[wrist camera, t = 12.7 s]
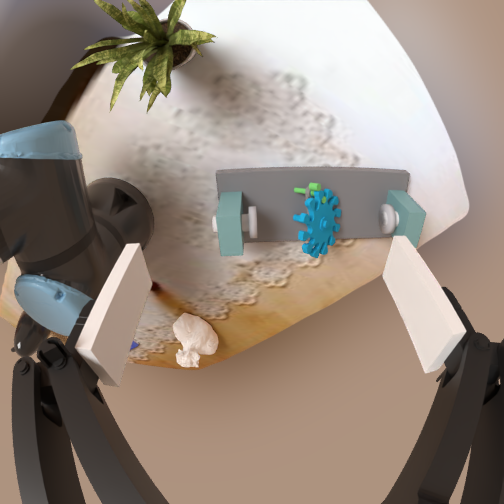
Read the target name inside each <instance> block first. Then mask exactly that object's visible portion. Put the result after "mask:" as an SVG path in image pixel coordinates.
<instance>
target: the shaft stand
mask: <svg viewBox="0 0 504 504" xmlns="http://www.w3.org/2000/svg"><path fill="white" fill-rule="evenodd" d="M409 175H410V173H408V172H407V171H406V170H395V169H378V168H355V167H271V168H247V169H229V170H217V172H216V180H217V189H218V198H219V205H218V209H217V214H216V216H213V218H212V226H213V232H214V233H218V238H219V245H220V253H221V256H239V255H243V247H244V243H246V242H269V241H295V240H299V239H298V233H299V231H300V230H303V231H307V230H308V228H307V226H306V224H304V223H300V222H298V221H294V220H293V216H294V215H295V214H297V215H301V213H305V214H307V207H306V206H305V201H306V196H305V194H302V193H295V192H294V188H303V189H306V188H307V187H308V186H309V184H310V183H319V184H320V185H321V189H320V190H322V191H324V189H330V190H331V191H332V192H333V195H332V196H338V200H339V203H338V205H333V207H332V210H334V209H335V208H337V209H341V216H340V217H334V220H335V222H336V223H337V224H340V229H339V231H338V232H334V231H333V236H334V238H335V239H350V238H381V237H394V236H406V237H407V238H408V240H409V241H410V242H411V244H412V245H413V246H414V248H417V244H418V241H419V238H420V234H421V231H422V227H423V224H424V220H425V216H426V212H425V211H424V210H423V209H422V208H421V207H420V206H419V205H418V204H417V203H416V202H415V201H414V200H413V199H412V198H411V197H410V196H409V195H408V194H407V193H406V191H407V186H408V181H409ZM329 200H330V198H329V199H328V202H329ZM307 240H310V238H308V239H307Z"/></svg>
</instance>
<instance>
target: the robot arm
mask: <svg viewBox="0 0 504 504" xmlns="http://www.w3.org/2000/svg"><path fill="white" fill-rule="evenodd" d="M81 159H82V154H81V153H80V151H79V147H78V142H77V137H76V132H75V129H74V127H73V126H72V125H71V124H70V123H69V122H66V121H54V122H48V123H43V124H38V125H34V126H29V127H25V128H21V129H18V130H14V131H10V132H7V133H4V134H1V135H0V264H3V263H4V262H5V261H7V260H9V259H10V258H12V257H13V256H14V257H15V259H16V262H17V264H18V266H19V268H20V270H21V276H19V277H18V278H17V279H16V284H15V290H14V293H15V297H16V299H17V301H18V303H19V304H20V306H21V307H22V308H23V310H24V311H25V312H26V313H27V314H28V315H29V316H30V317H31V318H33V319H34V320H35V321H36V322H38V323H39V324H41V325H42V326H44V327H46V328H47V329H49V330H51V331H53V332H56V333H58V334H61V335H65V336H69V337H68V339H67V342H66V344H65V346H64V344H63V343H62V341H61V340H60V339H58V338H57V337H51V338H48V339H46V340H45V341H43V342H42V343H41V345H40V346H39V348H38V350H37V358H38V359H39V360H40V361H41V362H38V363H36V362H35V361H34V360H33V359H32V358H31V357H29V356H24V357H22V358H20V359H19V360H18V361H17V362H16V364H15V366H14V370H13V382H12V432H13V447H14V457H15V465H16V472H17V479H18V484H19V490H20V495H21V499H22V504H86V503H85V500H84V496H83V493H82V490H81V486H80V482H79V478H78V474H77V471H76V466H75V462H74V457H73V452H72V448H71V442H72V444H73V447H74V449H75V451H76V454H77V456H78V458H79V460H80V462H81V464H82V467H83V469H84V471H85V473H86V475H87V477H88V479H89V481H90V483H91V484H92V486H93V488H94V490H95V492H96V493H97V495H98V497H99V499H100V500H101V502H102V504H169V503H168V502H167V500H166V499H165V498H164V496H163V495H162V494H161V492H160V491H159V490H158V488H157V487H156V486H155V484H154V483H153V481H152V480H151V479H150V477H149V476H148V474H147V473H146V471H145V470H144V468H143V467H142V465H141V464H140V463H139V461H138V459H137V458H136V456H135V454H134V453H133V451H132V449H131V448H130V446H129V444H128V443H127V441H126V439H125V438H124V436H123V434H122V432H121V430H120V428H119V427H118V425H117V423H116V421H115V419H114V417H113V415H112V413H111V411H110V409H109V408H108V406H107V403H106V402H105V399H104V397H103V395H102V393H101V391H100V389H99V387H98V386H97V382H98V379H100V380H101V381H102V382H103V384H105V385H109V386H116V387H119V386H120V382H121V379H122V375H123V372H124V368H125V365H126V361H127V358H128V355H129V352H130V348H131V345H132V342H133V339H134V336H135V332H136V329H137V326H138V323H139V320H140V317H141V314H142V311H143V309H144V306H145V303H146V300H147V297H148V294H149V292H150V289H151V286H152V281H151V278H150V275H149V272H148V269H147V265H146V262H145V259H144V256H143V252H142V251H143V250H144V249H145V247H146V246H147V244H148V242H149V240H150V238H151V236H152V233H153V228H154V219H153V214H152V211H151V208H150V206H149V204H148V202H147V200H146V199H145V197H144V196H143V195H142V194H141V193H140V192H139V191H138V190H137V189H136V188H135V187H133V186H132V185H130V184H129V183H127V182H125V181H122V180H119V179H115V178H102V179H98V180H95V181H93V182H92V183H90V184H89V185H88V186H86V181H85V176H84V171H83V166H82V160H81ZM382 277H383V279H384V281H385V282H386V284H387V287H388V289H389V291H390V293H391V295H392V297H393V299H394V301H395V303H396V305H397V307H398V310H399V312H400V314H401V316H402V318H403V321H404V323H405V325H406V328H407V330H408V332H409V334H410V337H411V339H412V342H413V344H414V347H415V349H416V351H417V354H418V356H419V359H420V362H421V364H422V367H423V369H424V372H425V373H428V372H432V371H436V370H438V369H439V368H440V367H441V365H442V364H443V363H445V366H446V369H445V370H444V371H443V372H442V374H441V375H440V376H439V377H438V378H437V380H436V382H438V381H439V380H440V379H441V382H440V384H439V387H438V391H437V393H436V396H435V399H434V402H433V405H432V407H431V409H430V412H429V415H428V417H427V420H426V422H425V424H424V427H423V430H422V431H421V434H420V436H419V438H418V440H417V443H416V444H415V447H414V449H413V451H412V453H411V455H410V457H409V459H408V461H407V463H406V465H405V467H404V468H403V470H402V472H401V474H400V475H399V477H398V479H397V481H396V482H395V484H394V486H393V487H392V489H391V491H390V493H389V494H388V496H387V497H386V499H385V500H384V501H383V502H382V503H381V504H449V499H450V497H451V495H452V493H453V491H454V489H455V486H456V484H457V482H458V479H459V477H460V475H461V472H462V470H463V467H464V464H465V462H466V459H467V456H468V453H469V450H470V448H471V454H470V460H469V466H468V472H467V477H466V482H465V486H464V491H463V495H462V499H461V503H460V504H504V339H503V340H502V342H501V343H495V342H490V340H489V339H488V338H487V337H486V336H485V335H484V334H482V333H478V332H477V333H476V332H475V330H474V329H473V327H472V325H471V323H470V321H469V320H468V318H467V316H466V314H465V313H464V311H463V310H462V309H461V306H460V304H459V303H458V301H457V299H456V298H455V296H454V295H453V293H452V292H451V291H450V290H448V289H447V288H446V287H441V286H440V285H439V284H438V282H437V280H436V279H435V277H434V276H433V274H432V273H431V271H430V270H429V268H428V267H427V265H426V264H425V262H424V261H423V259H422V258H421V256H420V255H419V253H418V252H417V251H416V249H415V248H414V246H413V245H412V244H411V242H410V241H409V240H408V238H407V237H406V236H394V237H393V241H392V245H391V248H390V252H389V255H388V259H387V262H386V265H385V269H384V272H383V276H382ZM499 379H500V383H501V384H500V385H499V381H498V380H499ZM70 440H71V441H70ZM471 445H472V446H471Z"/></svg>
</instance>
